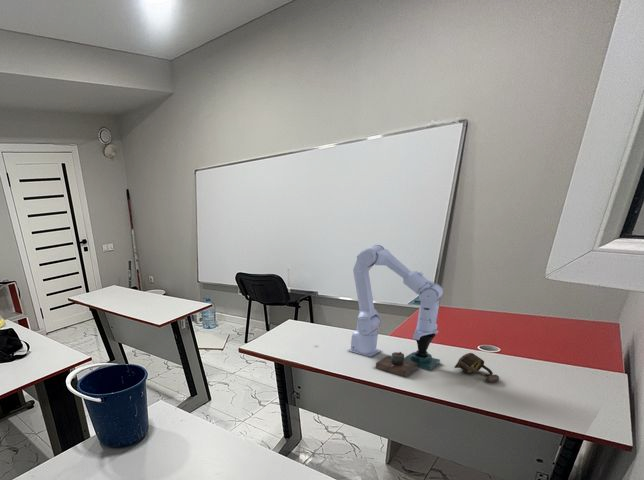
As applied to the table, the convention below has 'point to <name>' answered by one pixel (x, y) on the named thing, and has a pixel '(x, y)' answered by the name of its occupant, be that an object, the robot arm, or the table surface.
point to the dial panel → (397, 366)
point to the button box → (423, 361)
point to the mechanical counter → (475, 366)
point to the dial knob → (397, 358)
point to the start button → (421, 354)
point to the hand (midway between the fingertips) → (422, 351)
